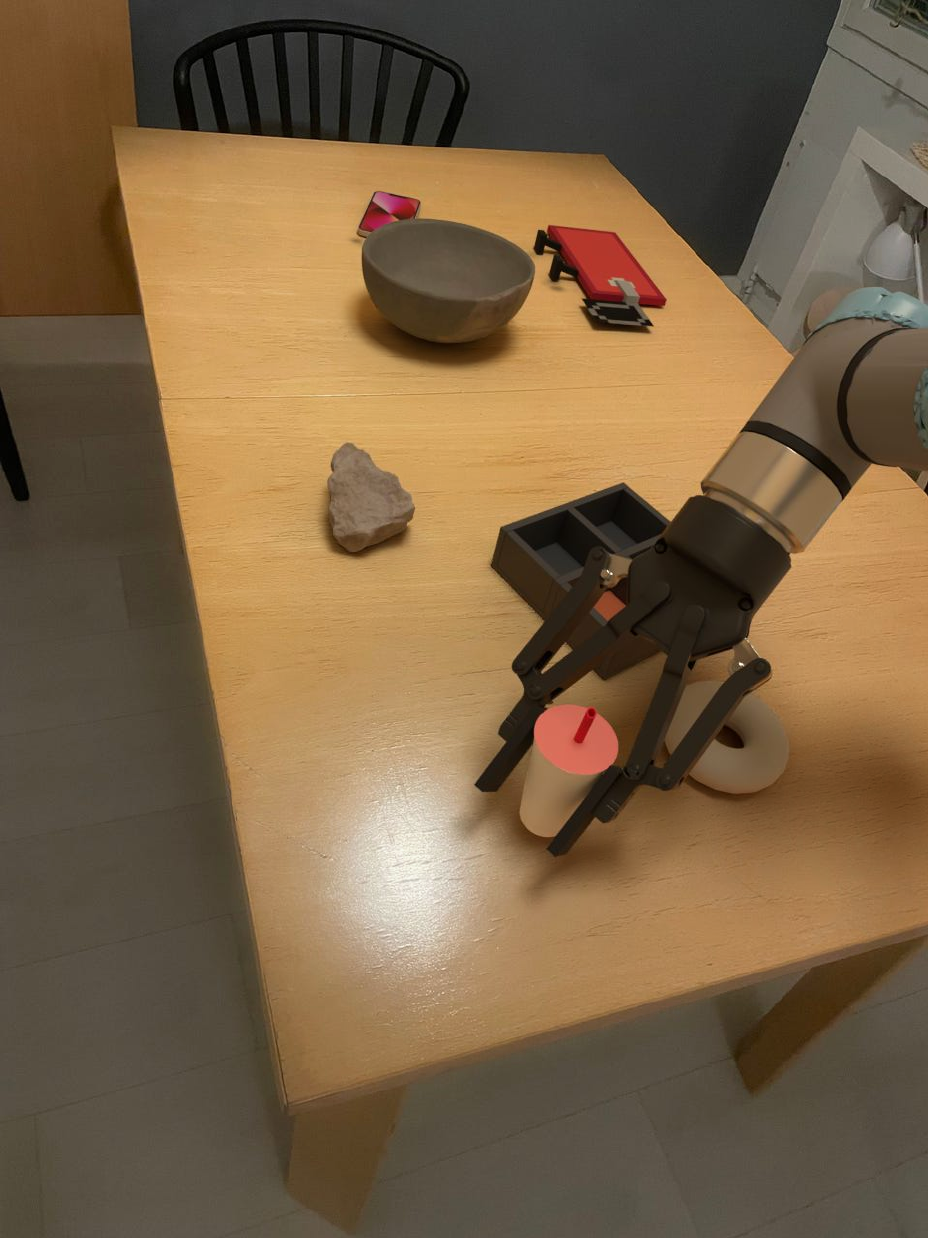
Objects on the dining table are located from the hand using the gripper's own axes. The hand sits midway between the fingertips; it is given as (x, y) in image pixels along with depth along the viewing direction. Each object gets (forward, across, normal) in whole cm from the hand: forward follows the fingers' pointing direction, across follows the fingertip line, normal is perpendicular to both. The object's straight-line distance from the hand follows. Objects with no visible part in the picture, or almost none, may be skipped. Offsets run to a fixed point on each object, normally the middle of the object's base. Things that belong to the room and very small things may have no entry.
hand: (520, 818), depth 56 cm
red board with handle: (-53, +52, -59) cm, 95 cm away
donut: (-11, -5, -17) cm, 21 cm away
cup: (0, 0, -5) cm, 5 cm away
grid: (-16, +11, -22) cm, 30 cm away
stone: (-8, +32, -14) cm, 35 cm away
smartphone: (-43, +80, -48) cm, 103 cm away
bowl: (-31, +53, -37) cm, 72 cm away
